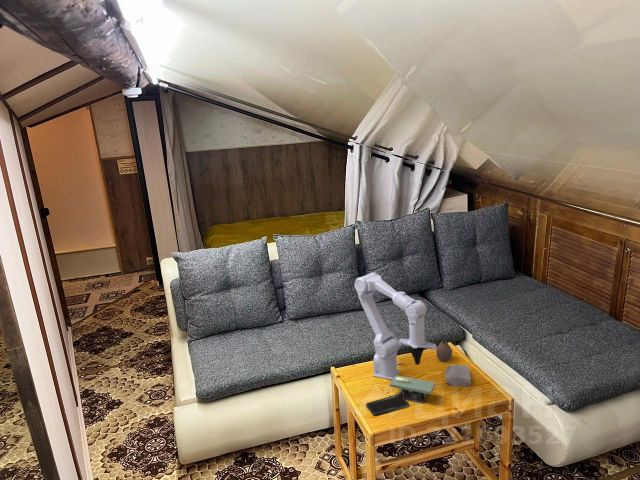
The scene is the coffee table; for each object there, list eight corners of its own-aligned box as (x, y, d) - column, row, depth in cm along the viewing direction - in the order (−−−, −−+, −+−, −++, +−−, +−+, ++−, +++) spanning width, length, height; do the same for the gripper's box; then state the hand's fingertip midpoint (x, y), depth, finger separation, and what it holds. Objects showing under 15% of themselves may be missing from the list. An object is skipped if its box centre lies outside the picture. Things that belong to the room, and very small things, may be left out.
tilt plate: (389, 388, 179) (389, 380, 178) (395, 379, 185) (395, 371, 184) (430, 396, 171) (430, 388, 171) (435, 386, 177) (435, 379, 176)
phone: (364, 403, 175) (399, 393, 180) (365, 406, 175) (399, 396, 180) (374, 415, 168) (410, 404, 172) (374, 417, 168) (410, 407, 173)
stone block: (447, 390, 184) (473, 386, 182) (445, 379, 184) (471, 375, 181) (445, 375, 196) (469, 372, 194) (443, 365, 195) (467, 361, 193)
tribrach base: (397, 398, 178) (397, 390, 177) (402, 388, 184) (402, 381, 183) (423, 403, 174) (422, 396, 173) (427, 393, 180) (427, 386, 179)
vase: (435, 356, 208) (435, 338, 206) (450, 356, 207) (450, 338, 205) (437, 363, 201) (437, 345, 199) (453, 363, 200) (453, 345, 198)
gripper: (395, 333, 179) (396, 365, 182) (432, 338, 172) (433, 371, 175) (401, 326, 185) (402, 357, 188) (437, 331, 178) (437, 362, 181)
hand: (417, 363), depth 182 cm, fingers closed
